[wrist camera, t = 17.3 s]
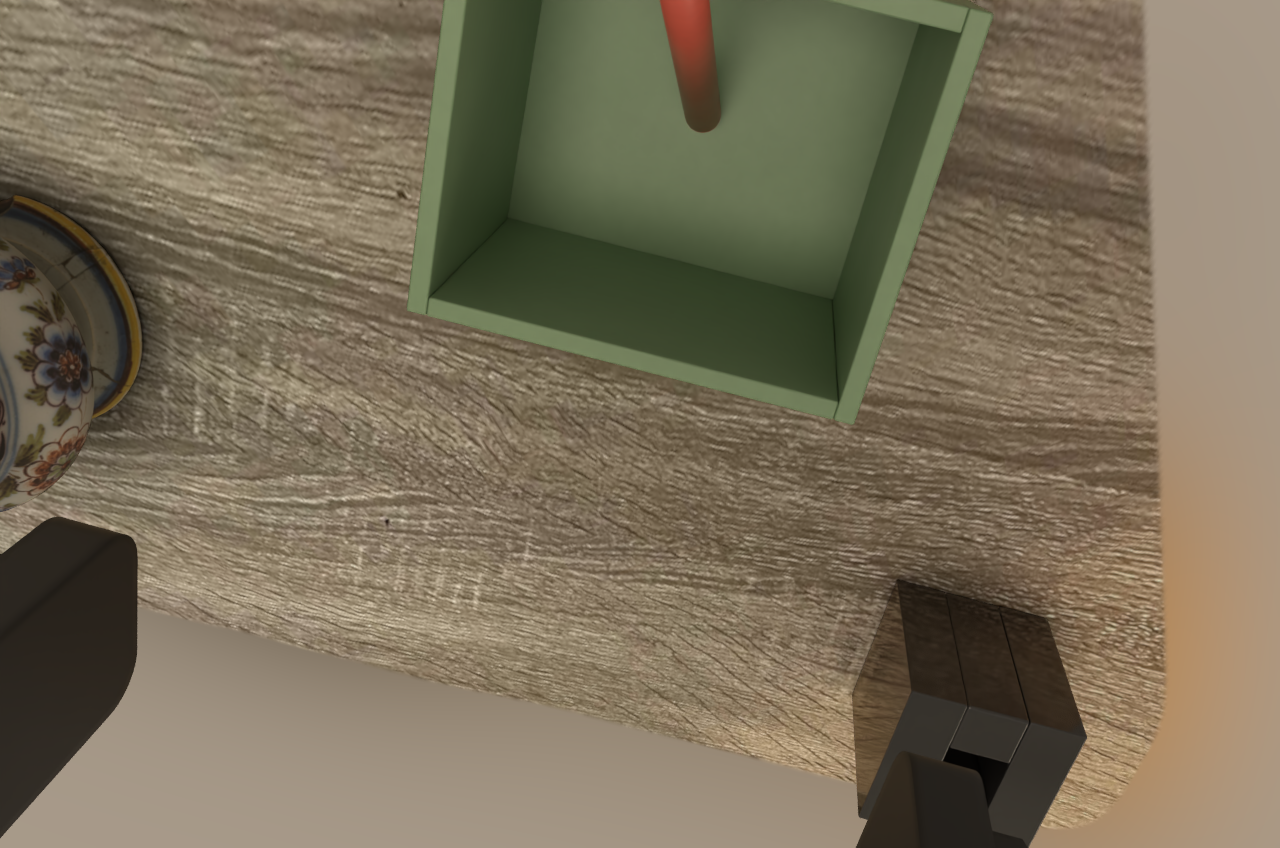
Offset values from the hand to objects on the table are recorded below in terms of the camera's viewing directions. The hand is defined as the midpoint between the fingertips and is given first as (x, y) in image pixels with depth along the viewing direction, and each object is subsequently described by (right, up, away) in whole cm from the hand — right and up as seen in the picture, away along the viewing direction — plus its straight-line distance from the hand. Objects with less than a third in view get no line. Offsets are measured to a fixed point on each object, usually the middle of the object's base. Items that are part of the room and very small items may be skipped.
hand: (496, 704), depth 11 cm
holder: (+14, -7, +34) cm, 37 cm away
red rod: (+4, +13, +25) cm, 29 cm away
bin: (+4, +13, +26) cm, 29 cm away
